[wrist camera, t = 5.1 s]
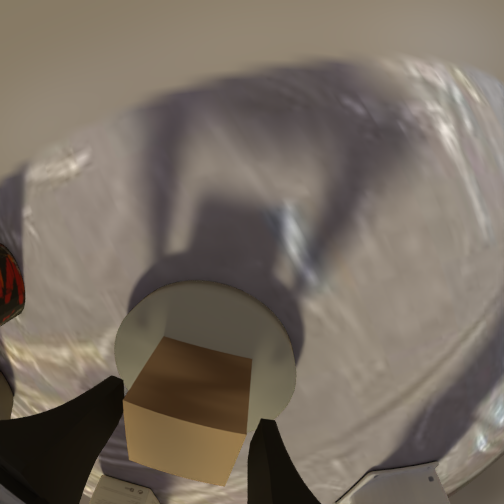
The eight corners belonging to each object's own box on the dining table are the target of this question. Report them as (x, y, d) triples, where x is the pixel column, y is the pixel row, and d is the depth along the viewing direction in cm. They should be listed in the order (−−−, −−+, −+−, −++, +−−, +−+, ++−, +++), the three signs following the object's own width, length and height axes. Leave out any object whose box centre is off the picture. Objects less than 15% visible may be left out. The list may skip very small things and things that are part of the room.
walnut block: (252, 359, 13) (246, 434, 8) (233, 417, 14) (224, 486, 9) (163, 336, 13) (122, 400, 8) (158, 397, 14) (129, 459, 9)
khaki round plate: (312, 296, 14) (319, 312, 12) (272, 424, 16) (273, 445, 15) (128, 261, 14) (111, 271, 12) (132, 394, 17) (122, 412, 15)
